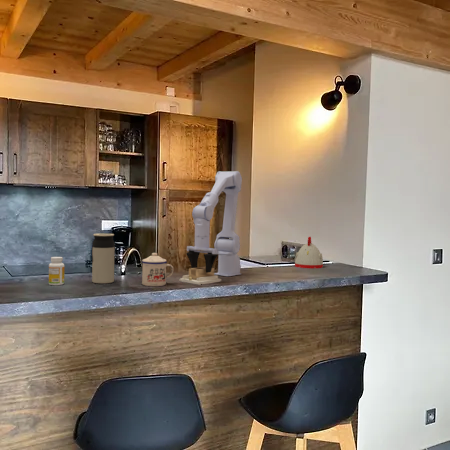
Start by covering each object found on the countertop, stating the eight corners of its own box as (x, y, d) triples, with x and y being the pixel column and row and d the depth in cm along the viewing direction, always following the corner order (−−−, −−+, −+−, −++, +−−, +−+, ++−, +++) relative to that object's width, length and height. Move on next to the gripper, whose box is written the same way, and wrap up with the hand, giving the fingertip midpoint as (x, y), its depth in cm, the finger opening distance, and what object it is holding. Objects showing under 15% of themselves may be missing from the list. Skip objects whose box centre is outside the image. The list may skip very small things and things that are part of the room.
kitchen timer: (292, 267, 241) (293, 236, 241) (296, 264, 255) (297, 235, 254) (321, 269, 237) (322, 238, 237) (324, 265, 250) (325, 236, 250)
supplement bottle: (59, 282, 181) (59, 256, 180) (67, 284, 177) (67, 257, 177) (45, 284, 177) (45, 257, 176) (53, 285, 173) (54, 258, 173)
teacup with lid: (146, 287, 175) (146, 254, 175) (138, 283, 183) (138, 252, 183) (177, 285, 181) (178, 253, 180) (168, 281, 189) (168, 251, 188)
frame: (204, 276, 197) (204, 266, 196) (213, 278, 193) (214, 268, 193) (188, 278, 190) (188, 268, 190) (197, 280, 187) (198, 270, 186)
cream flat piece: (200, 278, 199) (200, 272, 199) (221, 281, 192) (221, 275, 192) (179, 281, 190) (179, 275, 190) (199, 284, 183) (199, 278, 183)
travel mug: (116, 280, 187) (117, 233, 187) (109, 284, 180) (110, 235, 179) (96, 280, 188) (97, 233, 187) (88, 283, 180) (89, 234, 180)
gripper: (181, 235, 193) (180, 270, 193) (208, 237, 183) (208, 274, 184) (194, 234, 198) (193, 268, 199) (221, 237, 188) (220, 272, 189)
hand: (201, 271), depth 191 cm, fingers open, 7 cm apart
